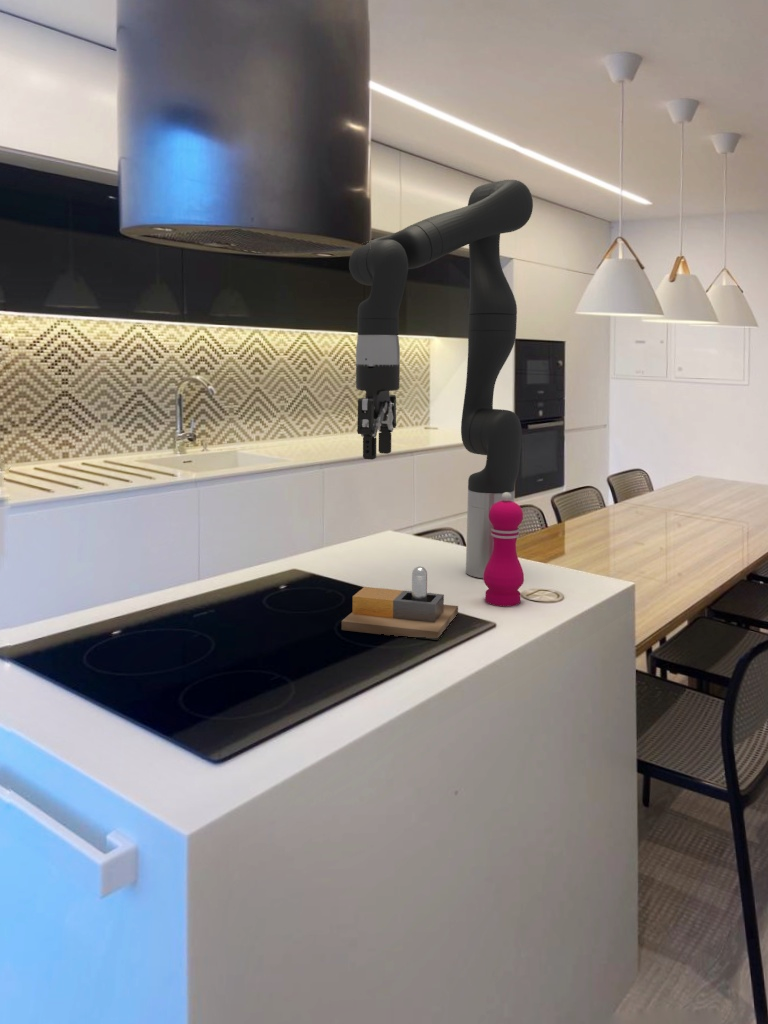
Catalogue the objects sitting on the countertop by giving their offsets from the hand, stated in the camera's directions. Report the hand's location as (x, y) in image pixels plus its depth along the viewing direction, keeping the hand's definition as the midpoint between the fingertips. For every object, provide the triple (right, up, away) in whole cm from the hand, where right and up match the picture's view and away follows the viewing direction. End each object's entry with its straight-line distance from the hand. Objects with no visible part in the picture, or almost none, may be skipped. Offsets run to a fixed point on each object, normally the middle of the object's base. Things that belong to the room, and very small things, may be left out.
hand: (377, 456), depth 144 cm
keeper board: (+4, -28, -8) cm, 29 cm away
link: (+4, -27, -8) cm, 28 cm away
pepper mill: (+23, -26, +4) cm, 35 cm away
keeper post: (+7, -27, -9) cm, 29 cm away
